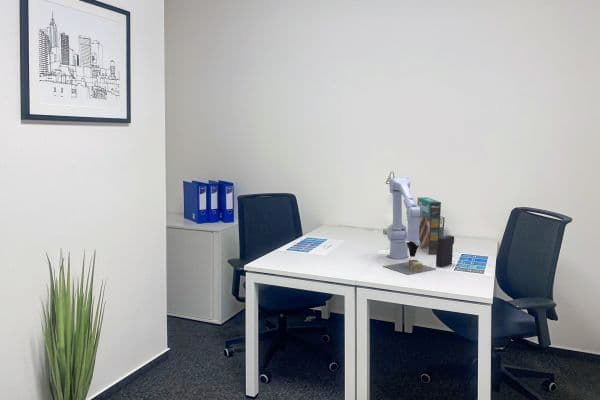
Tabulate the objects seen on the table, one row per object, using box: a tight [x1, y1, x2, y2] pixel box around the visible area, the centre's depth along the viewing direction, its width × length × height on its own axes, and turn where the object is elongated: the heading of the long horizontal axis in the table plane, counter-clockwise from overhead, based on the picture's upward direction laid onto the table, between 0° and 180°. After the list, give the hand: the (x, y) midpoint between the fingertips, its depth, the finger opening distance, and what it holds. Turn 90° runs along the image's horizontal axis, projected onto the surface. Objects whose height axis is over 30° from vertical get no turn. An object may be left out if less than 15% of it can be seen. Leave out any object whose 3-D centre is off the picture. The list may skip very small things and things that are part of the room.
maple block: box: [408, 259, 423, 273], centre depth 260 cm, size 4×4×8 cm
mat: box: [382, 261, 437, 276], centre depth 265 cm, size 20×18×1 cm
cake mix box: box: [416, 196, 442, 256], centre depth 303 cm, size 22×6×30 cm, turn 6°
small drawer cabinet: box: [435, 234, 455, 268], centre depth 270 cm, size 11×4×15 cm, turn 134°
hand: (412, 256), depth 264 cm, fingers closed
